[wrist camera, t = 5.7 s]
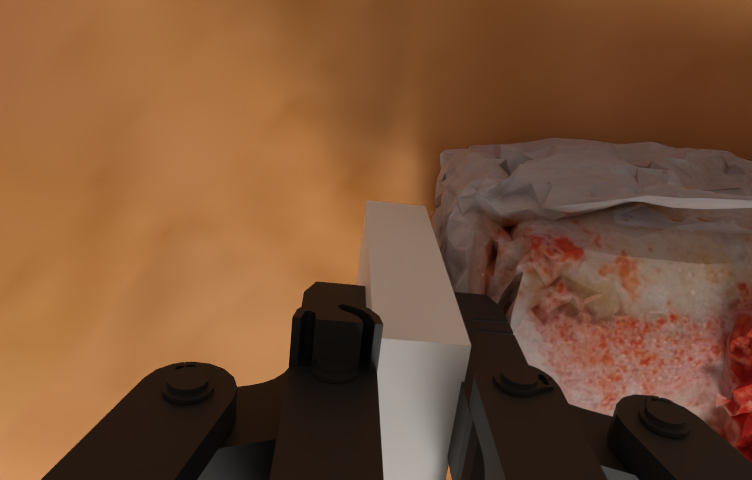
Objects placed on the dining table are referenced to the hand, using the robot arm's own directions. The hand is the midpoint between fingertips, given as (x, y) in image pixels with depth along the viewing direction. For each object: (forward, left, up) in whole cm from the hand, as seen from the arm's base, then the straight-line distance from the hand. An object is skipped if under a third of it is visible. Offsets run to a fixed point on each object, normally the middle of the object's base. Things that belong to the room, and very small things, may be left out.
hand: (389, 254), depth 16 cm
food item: (+8, 0, -4) cm, 9 cm away
